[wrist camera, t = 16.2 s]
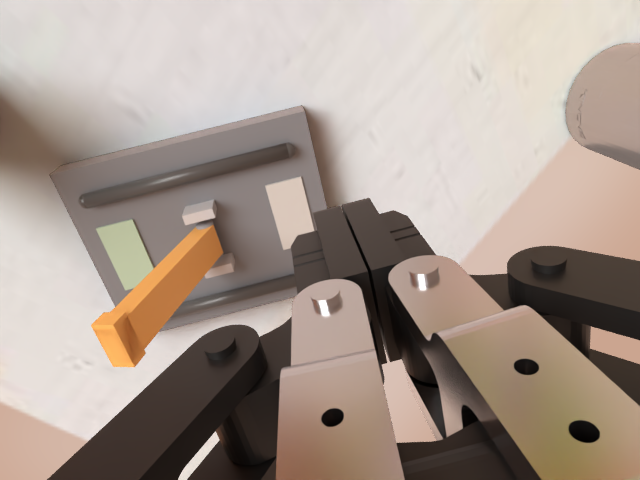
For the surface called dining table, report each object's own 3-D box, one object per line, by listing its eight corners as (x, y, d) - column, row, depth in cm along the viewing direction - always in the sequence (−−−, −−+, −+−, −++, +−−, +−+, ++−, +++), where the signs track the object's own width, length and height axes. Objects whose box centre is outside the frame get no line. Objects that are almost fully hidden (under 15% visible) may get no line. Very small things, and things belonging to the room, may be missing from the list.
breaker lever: (216, 217, 39) (113, 324, 27) (227, 251, 40) (134, 367, 29) (199, 219, 39) (91, 325, 28) (211, 252, 41) (113, 366, 29)
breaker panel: (301, 105, 39) (307, 116, 35) (340, 270, 46) (348, 295, 42) (61, 165, 38) (39, 183, 34) (137, 322, 46) (126, 352, 42)
